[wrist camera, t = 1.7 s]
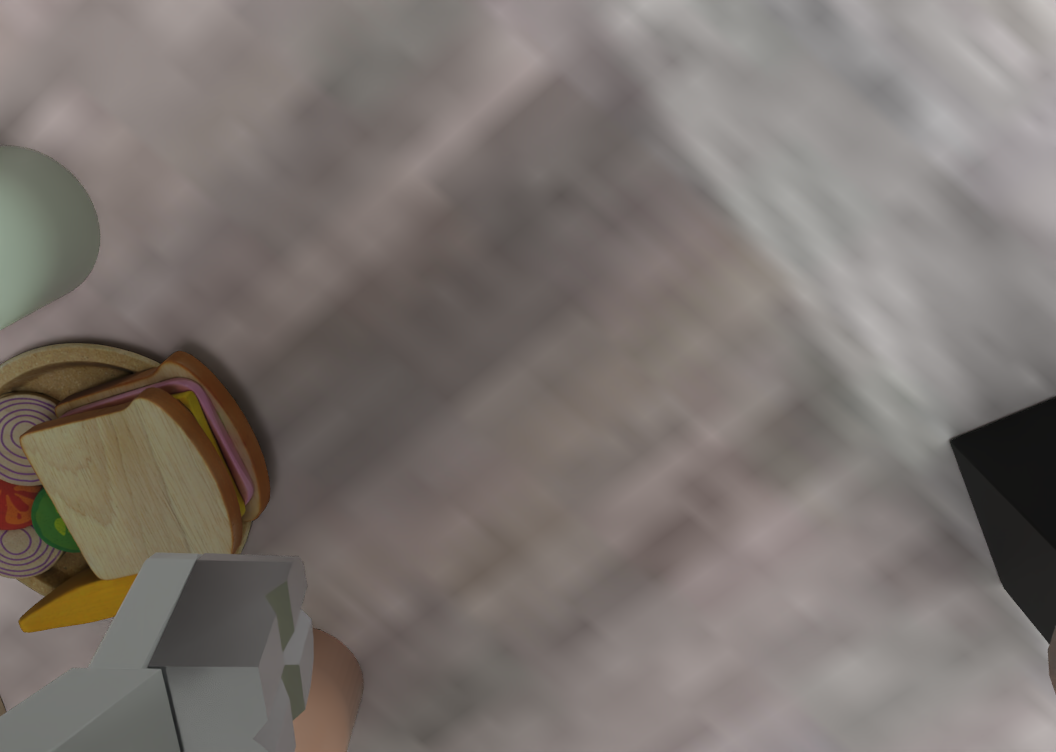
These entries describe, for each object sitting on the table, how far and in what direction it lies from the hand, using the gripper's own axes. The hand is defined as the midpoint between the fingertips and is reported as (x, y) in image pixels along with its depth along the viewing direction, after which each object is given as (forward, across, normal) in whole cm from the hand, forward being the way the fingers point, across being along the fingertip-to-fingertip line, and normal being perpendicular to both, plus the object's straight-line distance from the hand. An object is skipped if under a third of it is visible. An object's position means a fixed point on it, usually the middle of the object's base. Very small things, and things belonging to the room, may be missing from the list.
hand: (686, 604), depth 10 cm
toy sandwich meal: (+26, -19, -16) cm, 36 cm away
